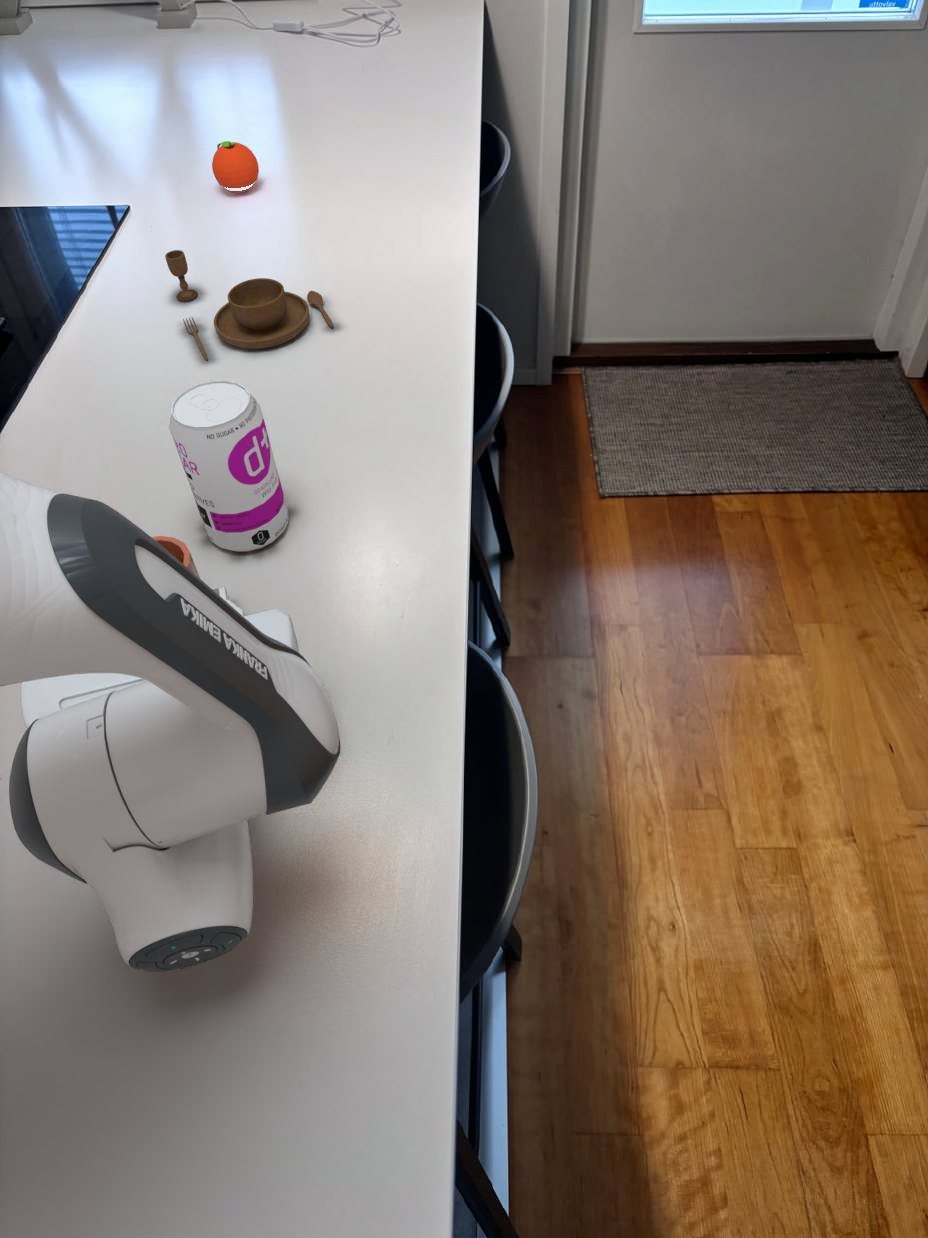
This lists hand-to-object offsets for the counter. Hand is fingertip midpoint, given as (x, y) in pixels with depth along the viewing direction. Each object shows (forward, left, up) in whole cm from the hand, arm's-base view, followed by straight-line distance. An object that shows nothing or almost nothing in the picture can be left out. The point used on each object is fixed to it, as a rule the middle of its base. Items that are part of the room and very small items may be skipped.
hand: (159, 607), depth 76 cm
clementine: (+40, +89, -9) cm, 97 cm away
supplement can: (+12, +15, -9) cm, 21 cm away
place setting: (+28, +53, -9) cm, 60 cm away
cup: (+1, +2, -7) cm, 7 cm away
